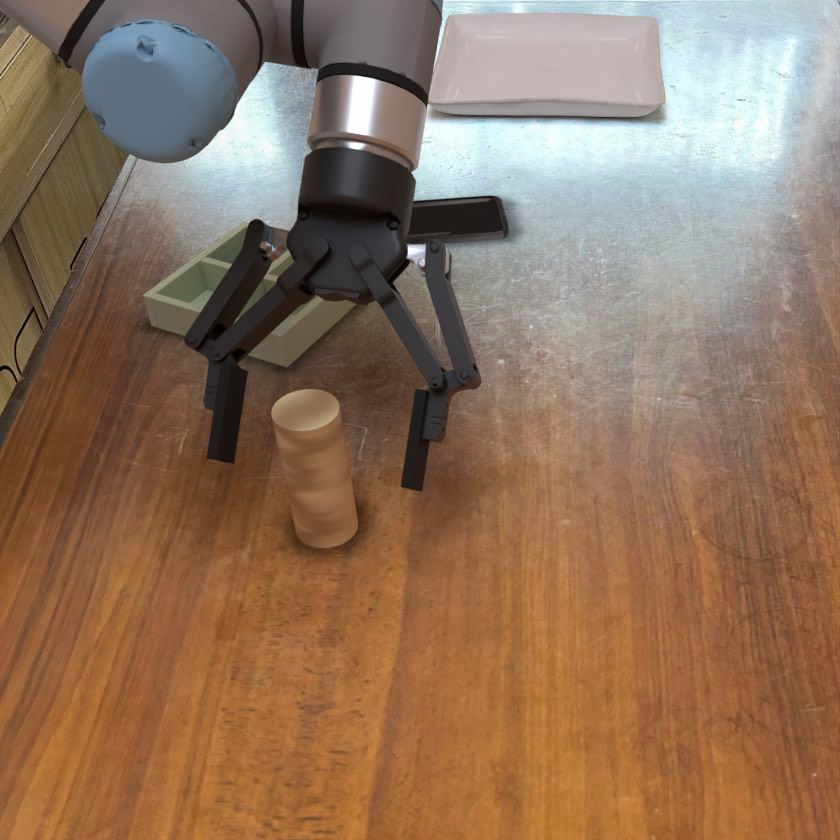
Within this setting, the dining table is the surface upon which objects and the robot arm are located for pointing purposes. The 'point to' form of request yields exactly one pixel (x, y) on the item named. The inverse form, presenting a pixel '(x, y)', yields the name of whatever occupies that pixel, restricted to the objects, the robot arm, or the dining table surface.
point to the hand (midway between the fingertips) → (314, 475)
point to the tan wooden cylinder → (315, 467)
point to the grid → (198, 279)
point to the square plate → (548, 65)
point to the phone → (458, 220)
